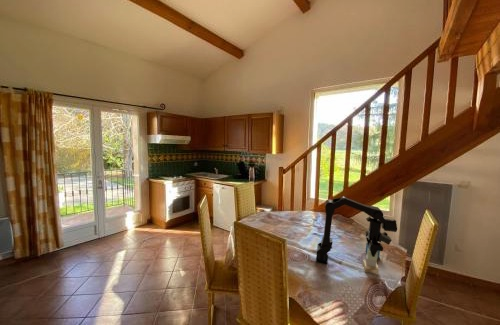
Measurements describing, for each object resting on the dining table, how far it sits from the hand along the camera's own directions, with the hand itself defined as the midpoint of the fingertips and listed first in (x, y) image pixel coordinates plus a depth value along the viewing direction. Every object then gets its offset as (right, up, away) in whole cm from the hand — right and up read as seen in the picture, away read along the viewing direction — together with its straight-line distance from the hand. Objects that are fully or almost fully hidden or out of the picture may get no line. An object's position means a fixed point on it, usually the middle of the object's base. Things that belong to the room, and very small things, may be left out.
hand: (372, 253), depth 125 cm
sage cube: (0, -3, 0) cm, 2 cm away
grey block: (0, -6, +1) cm, 7 cm away
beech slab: (0, -10, +2) cm, 11 cm away
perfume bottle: (+10, -8, +18) cm, 22 cm away
